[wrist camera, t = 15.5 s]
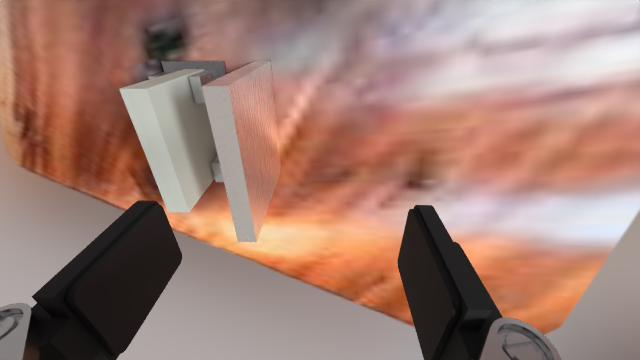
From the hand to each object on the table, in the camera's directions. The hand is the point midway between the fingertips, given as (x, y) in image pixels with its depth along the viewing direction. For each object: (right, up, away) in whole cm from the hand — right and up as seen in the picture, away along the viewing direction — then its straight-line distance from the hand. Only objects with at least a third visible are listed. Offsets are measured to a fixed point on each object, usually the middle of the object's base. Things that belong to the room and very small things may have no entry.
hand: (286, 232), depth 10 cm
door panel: (-15, +10, +27) cm, 32 cm away
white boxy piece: (-12, +11, +27) cm, 32 cm away
